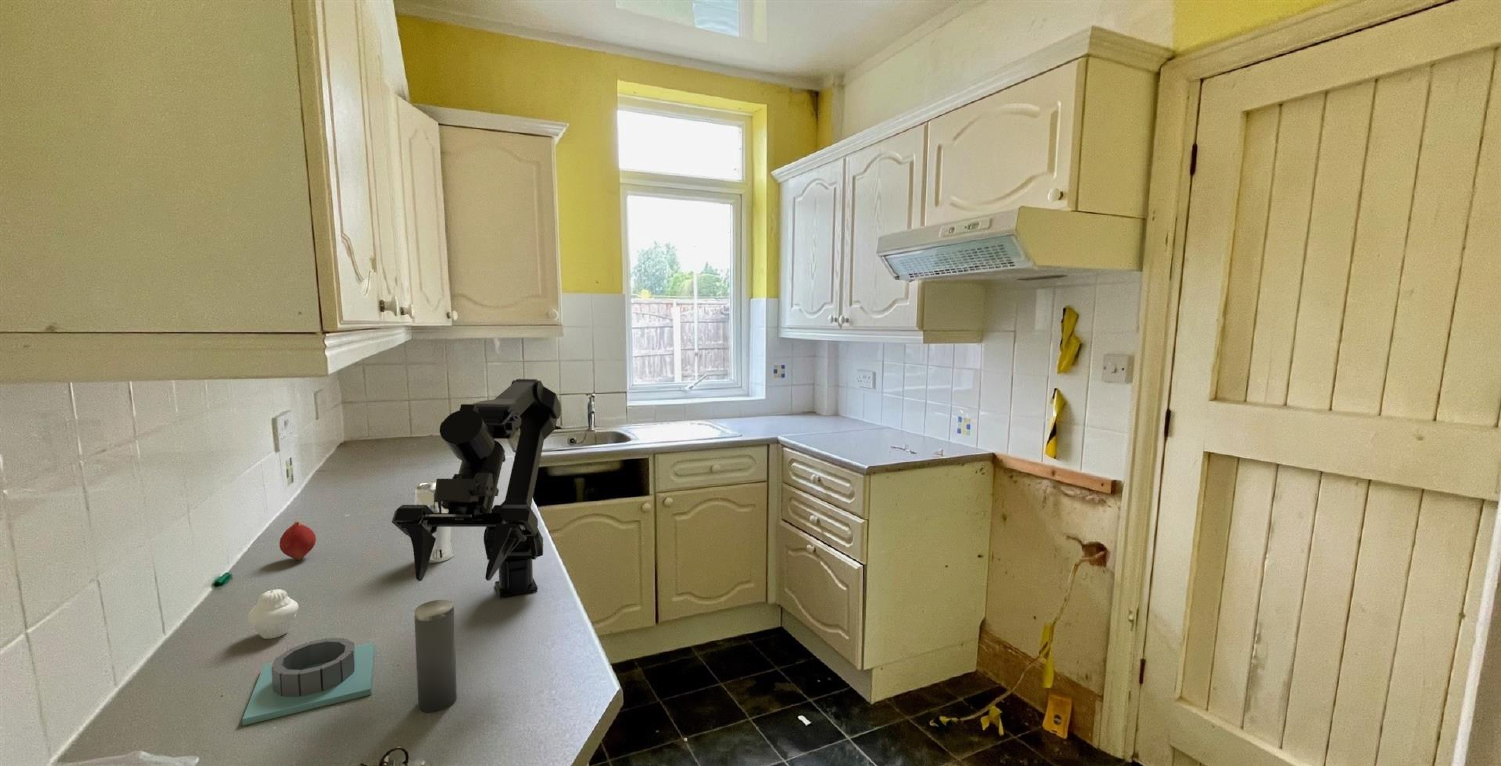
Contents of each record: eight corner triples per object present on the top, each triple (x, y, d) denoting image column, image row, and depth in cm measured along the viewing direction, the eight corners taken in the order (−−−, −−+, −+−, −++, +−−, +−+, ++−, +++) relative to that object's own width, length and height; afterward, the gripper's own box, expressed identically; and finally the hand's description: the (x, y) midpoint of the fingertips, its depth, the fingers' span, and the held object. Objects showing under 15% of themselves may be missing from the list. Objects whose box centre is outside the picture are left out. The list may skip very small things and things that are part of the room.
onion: (273, 563, 120) (270, 523, 119) (300, 552, 126) (298, 514, 125) (296, 566, 119) (294, 526, 118) (323, 555, 124) (321, 517, 123)
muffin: (308, 629, 95) (305, 586, 95) (262, 648, 90) (259, 602, 89) (286, 620, 98) (283, 578, 97) (240, 637, 93) (237, 593, 92)
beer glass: (445, 548, 129) (443, 479, 128) (461, 557, 125) (459, 485, 123) (411, 558, 124) (408, 485, 122) (426, 567, 120) (423, 492, 118)
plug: (417, 696, 79) (414, 604, 78) (455, 687, 81) (452, 597, 80) (418, 716, 75) (414, 619, 74) (457, 705, 78) (454, 611, 76)
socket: (264, 670, 84) (262, 644, 84) (374, 647, 91) (373, 622, 90) (242, 725, 73) (240, 695, 73) (370, 694, 79) (369, 666, 79)
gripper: (392, 450, 86) (354, 561, 77) (528, 451, 87) (506, 560, 78) (423, 484, 95) (392, 587, 86) (546, 484, 96) (528, 585, 87)
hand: (453, 579), depth 84 cm, fingers open, 9 cm apart
